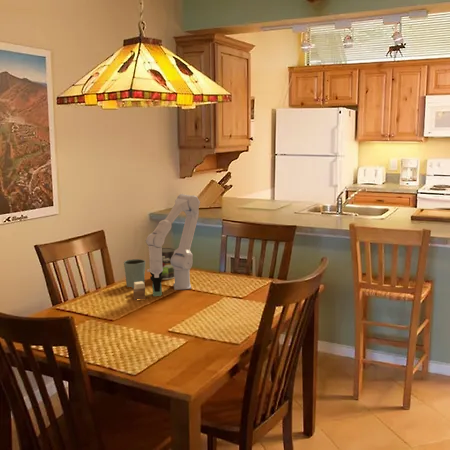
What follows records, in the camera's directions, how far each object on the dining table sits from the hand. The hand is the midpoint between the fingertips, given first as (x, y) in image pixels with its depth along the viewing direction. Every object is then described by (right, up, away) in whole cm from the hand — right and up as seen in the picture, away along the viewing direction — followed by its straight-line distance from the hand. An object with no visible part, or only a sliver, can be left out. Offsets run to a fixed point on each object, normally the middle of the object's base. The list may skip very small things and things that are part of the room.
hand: (157, 289), depth 250 cm
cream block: (-8, -2, +3) cm, 9 cm away
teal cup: (-12, 0, +16) cm, 20 cm away
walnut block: (-7, -4, -4) cm, 9 cm away
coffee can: (+1, +2, +30) cm, 30 cm away
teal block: (0, -3, +1) cm, 3 cm away
